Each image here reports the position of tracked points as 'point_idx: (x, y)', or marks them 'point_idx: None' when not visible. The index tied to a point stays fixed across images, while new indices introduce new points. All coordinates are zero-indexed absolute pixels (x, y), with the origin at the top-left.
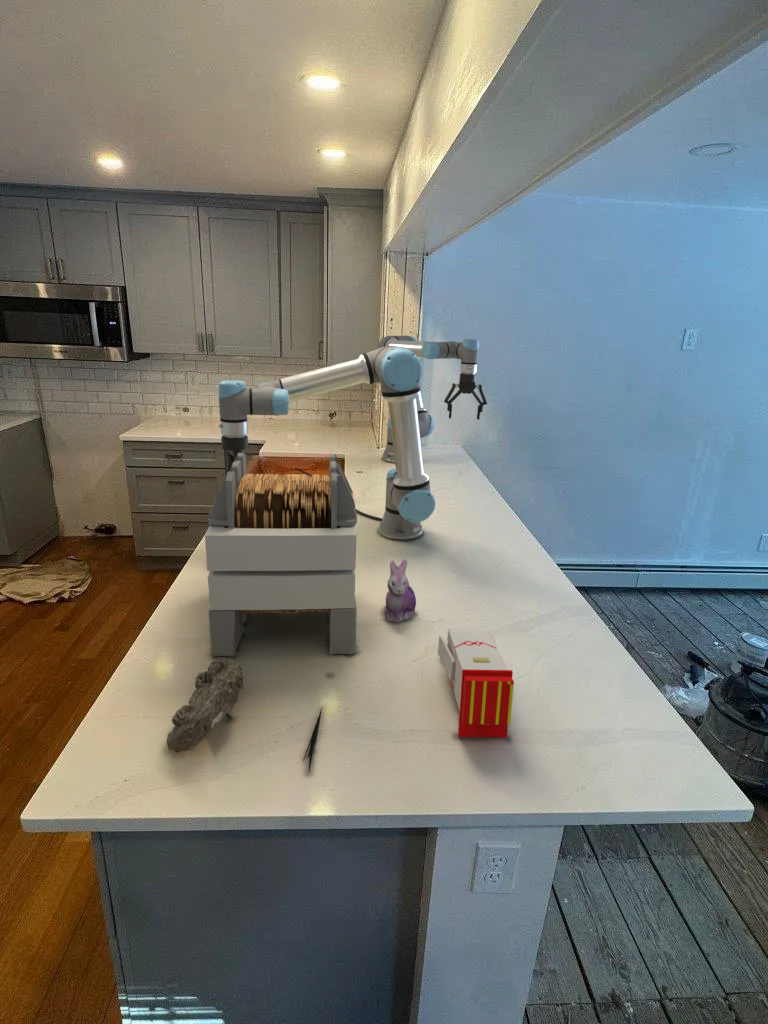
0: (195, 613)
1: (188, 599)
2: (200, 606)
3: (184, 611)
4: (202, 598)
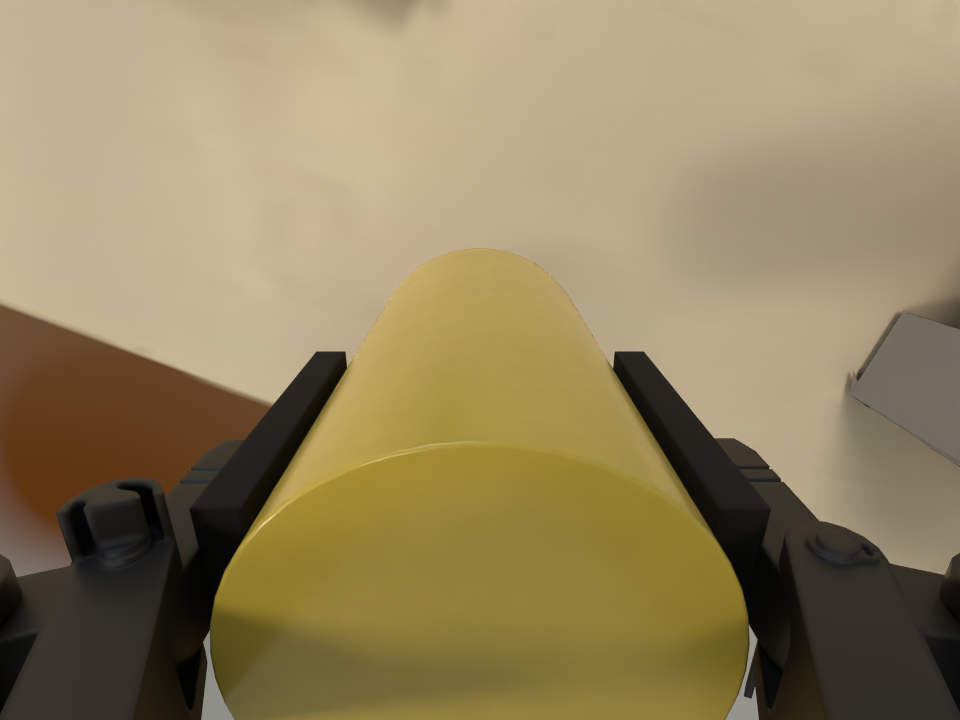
0: (948, 545)
1: None
2: (909, 523)
3: None
4: (850, 508)
